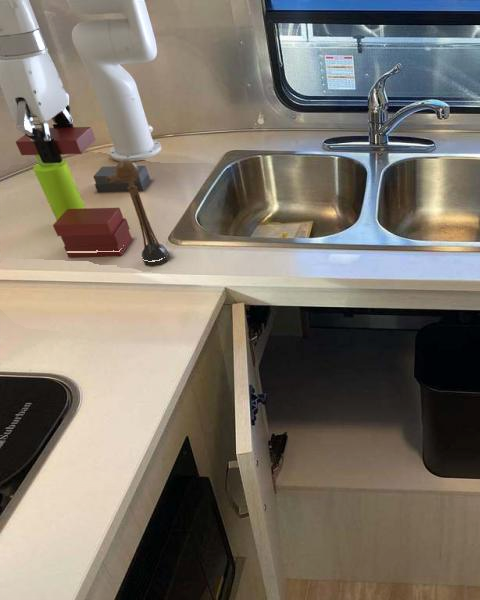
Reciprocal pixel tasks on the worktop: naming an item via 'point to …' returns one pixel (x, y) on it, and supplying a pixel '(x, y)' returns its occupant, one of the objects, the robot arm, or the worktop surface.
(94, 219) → the red books
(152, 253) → the wooden tabletop sculpture
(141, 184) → the grey books
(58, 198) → the soap dispenser
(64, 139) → the red book
